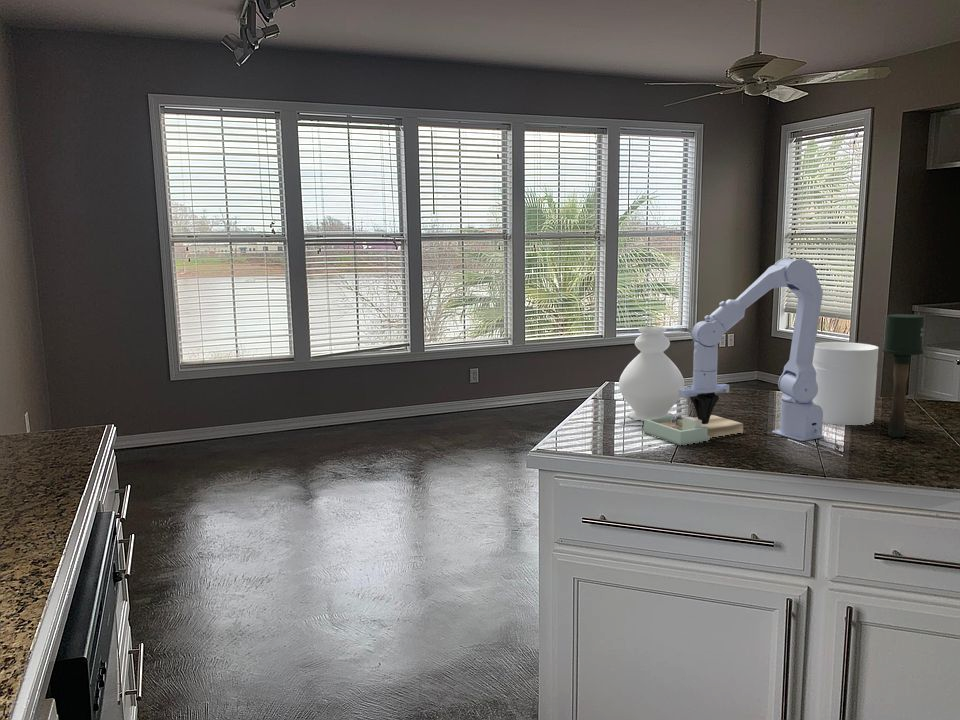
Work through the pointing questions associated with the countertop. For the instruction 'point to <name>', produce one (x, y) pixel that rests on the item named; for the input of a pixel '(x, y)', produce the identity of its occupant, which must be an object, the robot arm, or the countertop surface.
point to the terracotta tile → (669, 425)
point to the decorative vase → (651, 377)
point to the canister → (846, 381)
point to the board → (719, 426)
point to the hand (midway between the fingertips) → (703, 423)
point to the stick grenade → (901, 361)
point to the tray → (675, 432)
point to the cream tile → (691, 423)
